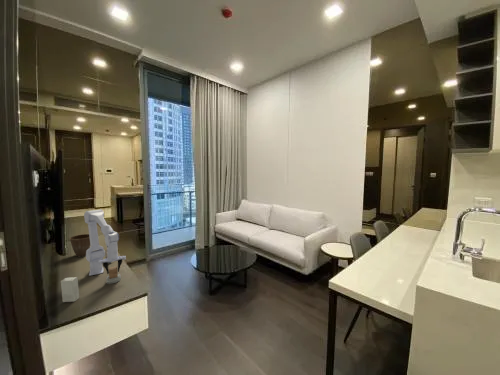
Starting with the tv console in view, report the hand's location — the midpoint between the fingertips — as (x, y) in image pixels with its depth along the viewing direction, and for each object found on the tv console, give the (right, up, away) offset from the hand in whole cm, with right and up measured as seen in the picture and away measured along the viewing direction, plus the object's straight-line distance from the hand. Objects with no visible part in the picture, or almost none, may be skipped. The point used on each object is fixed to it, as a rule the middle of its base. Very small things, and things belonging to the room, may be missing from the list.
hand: (113, 272), depth 139 cm
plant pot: (-54, -3, +44) cm, 70 cm away
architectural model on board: (-24, -4, +32) cm, 40 cm away
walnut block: (0, -3, 0) cm, 3 cm away
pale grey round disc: (0, -6, 0) cm, 6 cm away
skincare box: (-10, -7, -21) cm, 25 cm away
